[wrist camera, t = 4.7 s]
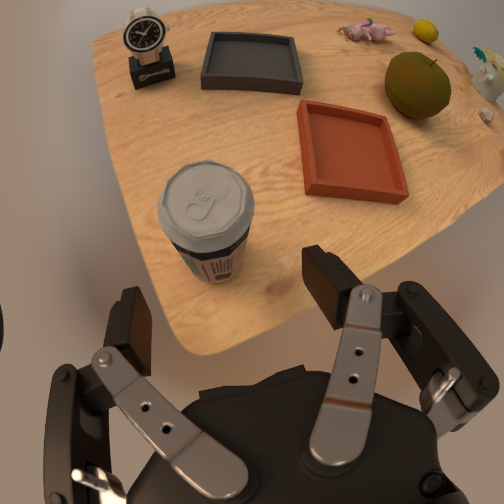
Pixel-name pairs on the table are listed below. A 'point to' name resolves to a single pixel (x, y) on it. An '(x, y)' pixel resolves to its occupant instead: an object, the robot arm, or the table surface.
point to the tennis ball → (425, 31)
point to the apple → (417, 85)
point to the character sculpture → (489, 75)
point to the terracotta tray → (349, 154)
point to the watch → (147, 48)
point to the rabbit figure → (367, 31)
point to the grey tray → (251, 63)
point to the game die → (487, 115)
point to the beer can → (207, 218)
